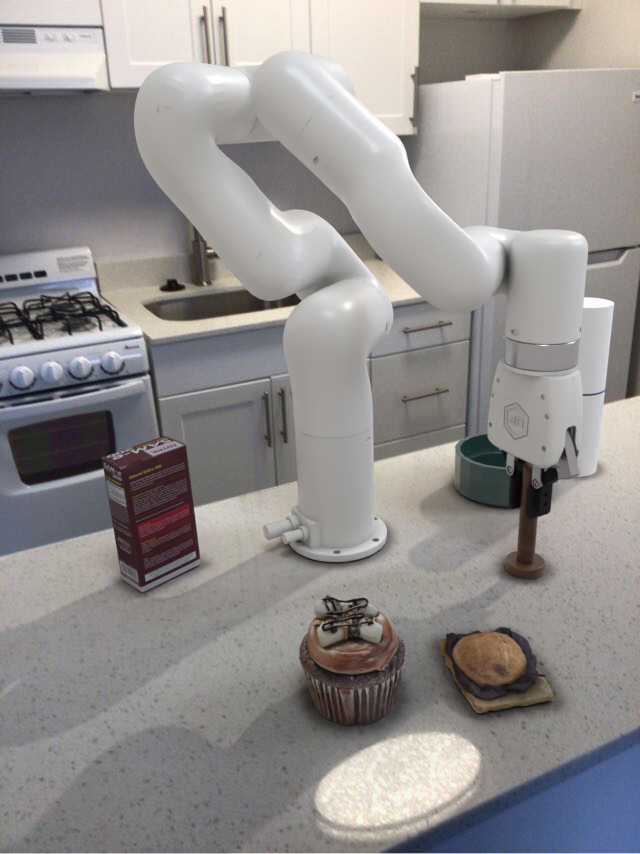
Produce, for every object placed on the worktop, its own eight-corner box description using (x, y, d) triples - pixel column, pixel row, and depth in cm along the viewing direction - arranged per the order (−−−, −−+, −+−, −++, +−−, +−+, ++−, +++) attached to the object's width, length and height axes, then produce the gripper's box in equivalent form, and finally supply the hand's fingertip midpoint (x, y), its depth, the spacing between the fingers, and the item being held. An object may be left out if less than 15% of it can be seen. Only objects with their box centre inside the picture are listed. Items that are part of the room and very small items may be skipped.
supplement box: (179, 551, 95) (165, 433, 89) (202, 565, 91) (189, 443, 86) (118, 579, 89) (99, 455, 83) (140, 595, 86) (122, 467, 80)
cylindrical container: (599, 478, 110) (618, 308, 101) (548, 475, 111) (562, 307, 102) (593, 458, 116) (610, 297, 107) (545, 456, 118) (557, 297, 109)
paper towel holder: (523, 583, 85) (531, 477, 81) (497, 565, 89) (503, 462, 84) (552, 572, 87) (561, 467, 82) (525, 555, 91) (533, 454, 86)
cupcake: (421, 722, 66) (423, 626, 62) (312, 742, 64) (307, 645, 60) (389, 653, 75) (388, 566, 71) (292, 670, 73) (287, 581, 69)
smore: (560, 704, 67) (564, 670, 66) (470, 717, 66) (471, 683, 65) (512, 632, 77) (514, 601, 76) (433, 642, 76) (433, 611, 75)
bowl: (496, 518, 100) (498, 477, 98) (435, 482, 111) (436, 444, 109) (571, 494, 105) (574, 455, 103) (506, 461, 117) (508, 425, 114)
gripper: (463, 342, 84) (458, 492, 90) (571, 378, 70) (555, 550, 77) (515, 332, 87) (506, 477, 94) (628, 365, 74) (608, 531, 80)
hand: (529, 509), depth 85 cm, fingers closed on paper towel holder, 2 cm apart
